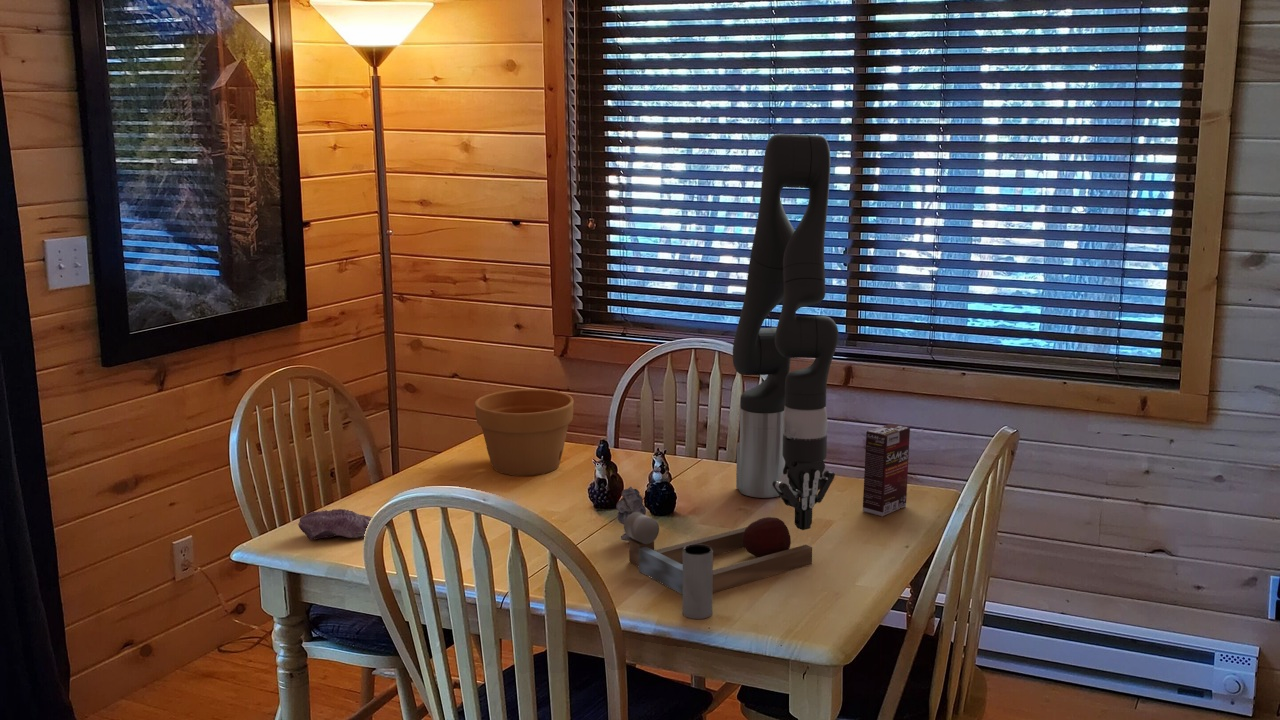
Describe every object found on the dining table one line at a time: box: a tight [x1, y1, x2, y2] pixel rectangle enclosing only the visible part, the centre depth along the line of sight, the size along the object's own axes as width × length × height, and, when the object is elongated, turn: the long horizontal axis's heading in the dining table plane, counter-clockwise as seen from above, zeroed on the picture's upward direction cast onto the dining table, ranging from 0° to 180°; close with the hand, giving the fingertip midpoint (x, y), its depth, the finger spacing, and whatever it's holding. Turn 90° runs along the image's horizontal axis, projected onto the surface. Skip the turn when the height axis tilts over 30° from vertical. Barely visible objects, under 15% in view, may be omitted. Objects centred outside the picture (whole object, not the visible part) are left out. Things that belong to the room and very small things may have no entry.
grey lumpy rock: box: [615, 486, 647, 542], centre depth 211 cm, size 5×5×10 cm
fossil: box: [297, 508, 373, 541], centre depth 215 cm, size 8×14×5 cm, turn 109°
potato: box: [742, 516, 792, 558], centre depth 203 cm, size 7×8×7 cm
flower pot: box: [474, 388, 575, 477], centre depth 256 cm, size 21×21×15 cm
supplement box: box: [862, 423, 911, 517], centre depth 227 cm, size 9×5×16 cm, turn 136°
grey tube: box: [681, 544, 714, 620], centre depth 180 cm, size 4×4×10 cm
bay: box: [623, 512, 813, 595], centre depth 200 cm, size 19×26×8 cm
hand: (803, 528), depth 207 cm, fingers closed
